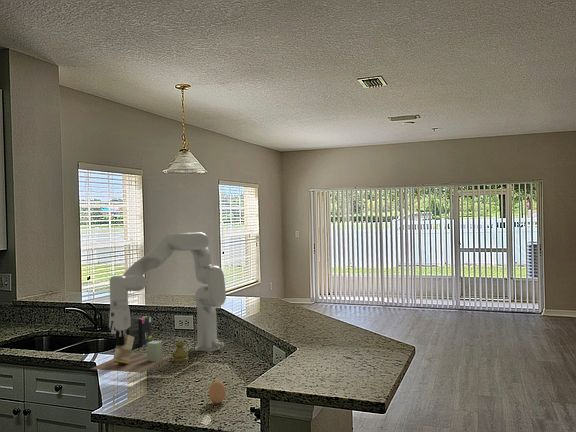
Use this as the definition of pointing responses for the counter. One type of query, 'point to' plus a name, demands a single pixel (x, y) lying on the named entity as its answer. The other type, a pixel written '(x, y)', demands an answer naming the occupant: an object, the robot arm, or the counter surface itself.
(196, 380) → the counter surface
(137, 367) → the walnut board
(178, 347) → the olive tiered piece
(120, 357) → the maple block
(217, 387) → the egg
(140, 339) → the tampon box
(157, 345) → the sage block
